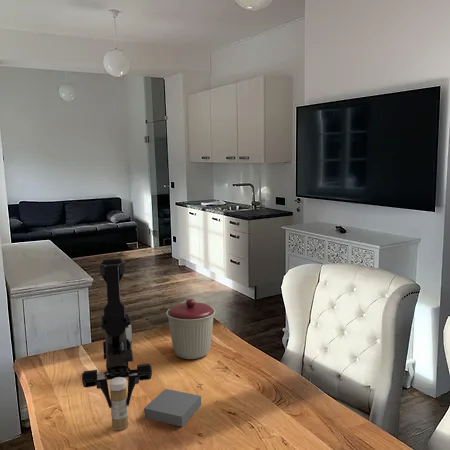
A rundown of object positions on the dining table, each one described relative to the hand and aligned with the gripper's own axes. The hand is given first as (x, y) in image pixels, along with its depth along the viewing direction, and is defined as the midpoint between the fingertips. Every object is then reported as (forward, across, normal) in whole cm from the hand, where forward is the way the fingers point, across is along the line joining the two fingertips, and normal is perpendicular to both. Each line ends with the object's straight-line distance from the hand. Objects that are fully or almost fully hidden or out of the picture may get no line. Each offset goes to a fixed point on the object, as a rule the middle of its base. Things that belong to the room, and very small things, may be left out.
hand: (119, 406), depth 126 cm
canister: (-26, +27, +36) cm, 52 cm away
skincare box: (-29, +2, +39) cm, 49 cm away
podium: (+1, +15, +8) cm, 17 cm away
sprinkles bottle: (+4, 0, +6) cm, 7 cm away
